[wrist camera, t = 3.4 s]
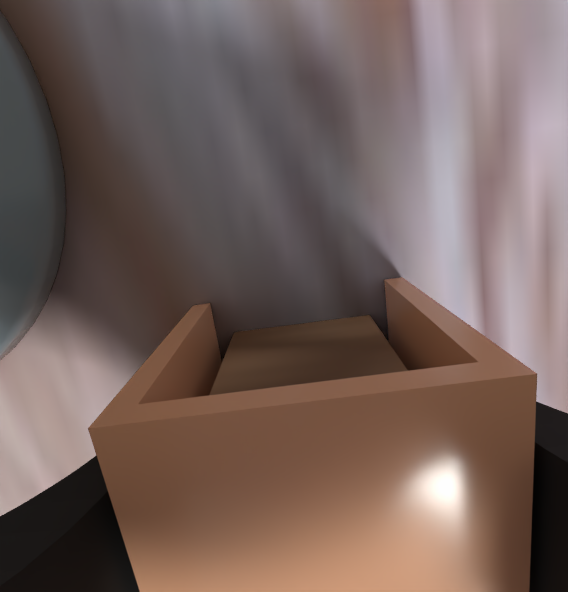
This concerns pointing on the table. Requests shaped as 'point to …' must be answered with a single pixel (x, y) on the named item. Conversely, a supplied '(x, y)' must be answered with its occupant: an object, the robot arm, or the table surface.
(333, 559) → the cover
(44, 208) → the dish
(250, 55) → the table surface
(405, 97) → the table surface
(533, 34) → the table surface
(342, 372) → the block
